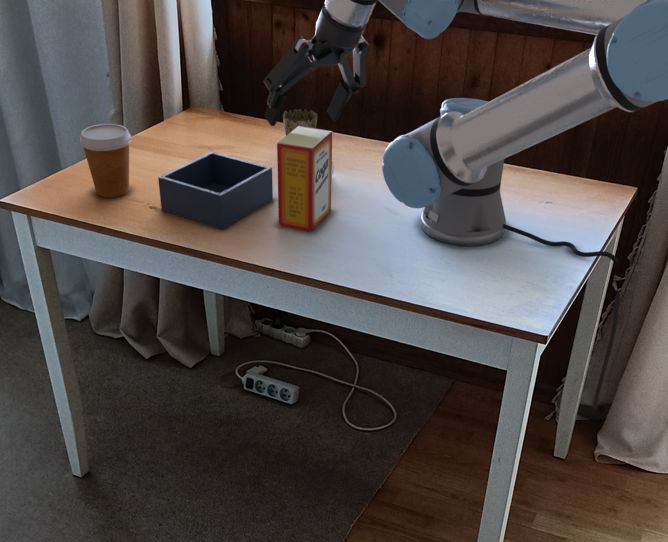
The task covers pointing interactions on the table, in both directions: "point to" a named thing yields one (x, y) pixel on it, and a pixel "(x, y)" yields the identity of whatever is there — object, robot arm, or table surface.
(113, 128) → the disposable coffee cup
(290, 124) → the cup
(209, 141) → the table surface
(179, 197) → the bin
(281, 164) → the baking soda box
